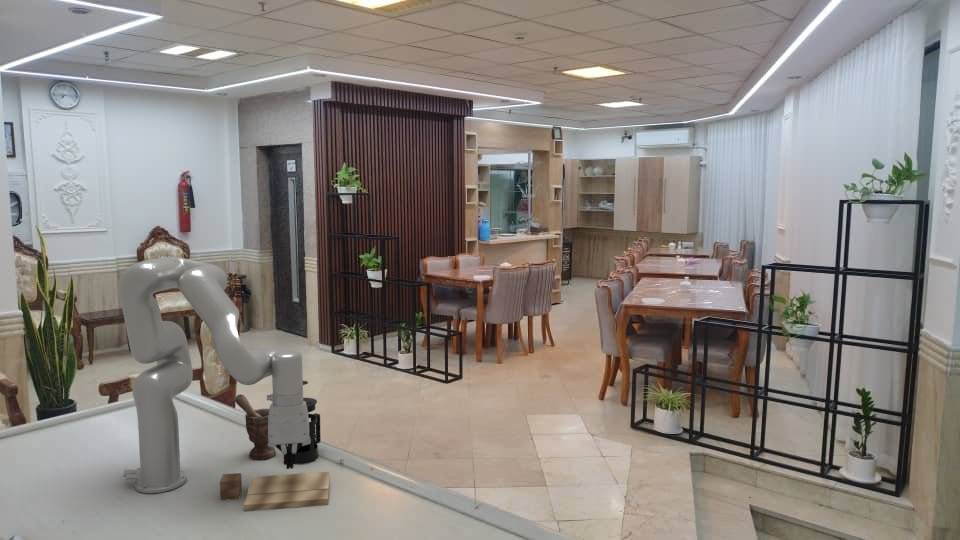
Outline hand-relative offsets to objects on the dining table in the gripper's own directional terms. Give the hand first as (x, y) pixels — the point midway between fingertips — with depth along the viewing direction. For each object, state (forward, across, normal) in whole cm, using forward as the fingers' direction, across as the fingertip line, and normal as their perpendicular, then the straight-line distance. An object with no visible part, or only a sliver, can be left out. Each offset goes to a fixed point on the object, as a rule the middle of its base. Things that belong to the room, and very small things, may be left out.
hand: (290, 466), depth 173 cm
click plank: (+6, 0, 0) cm, 6 cm away
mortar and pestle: (+6, -11, +24) cm, 27 cm away
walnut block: (+6, -15, -1) cm, 16 cm away
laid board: (+6, 0, -7) cm, 10 cm away
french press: (+7, +2, +22) cm, 23 cm away
